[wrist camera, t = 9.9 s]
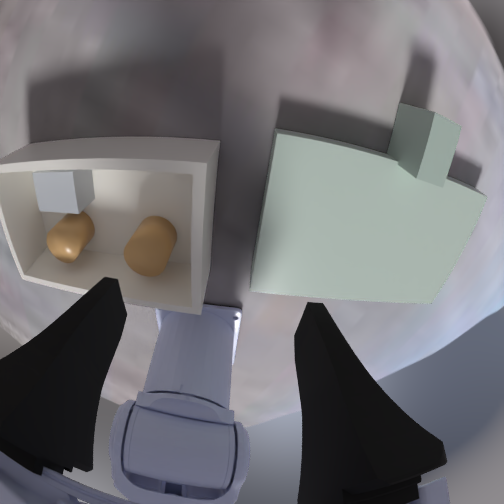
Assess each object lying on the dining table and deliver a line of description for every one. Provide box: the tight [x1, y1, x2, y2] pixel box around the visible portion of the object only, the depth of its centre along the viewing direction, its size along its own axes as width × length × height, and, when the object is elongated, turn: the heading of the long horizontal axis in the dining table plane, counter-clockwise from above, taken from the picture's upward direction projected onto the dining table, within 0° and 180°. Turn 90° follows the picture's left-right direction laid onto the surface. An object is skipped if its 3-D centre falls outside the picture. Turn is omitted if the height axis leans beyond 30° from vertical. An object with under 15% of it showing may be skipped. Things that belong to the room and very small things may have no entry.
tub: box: [0, 137, 220, 315], centre depth 16 cm, size 10×16×5 cm, turn 83°
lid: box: [250, 103, 487, 304], centre depth 16 cm, size 15×18×4 cm
